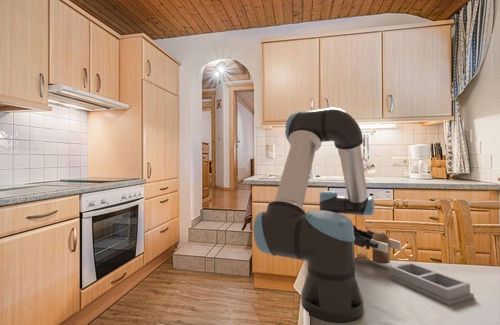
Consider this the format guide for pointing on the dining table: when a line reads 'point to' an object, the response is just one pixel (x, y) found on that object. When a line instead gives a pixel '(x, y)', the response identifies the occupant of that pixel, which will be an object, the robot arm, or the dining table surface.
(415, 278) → the two-compartment grey tray
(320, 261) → the robot arm
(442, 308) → the dining table surface
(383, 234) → the wooden dome-top peg
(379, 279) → the dining table surface
